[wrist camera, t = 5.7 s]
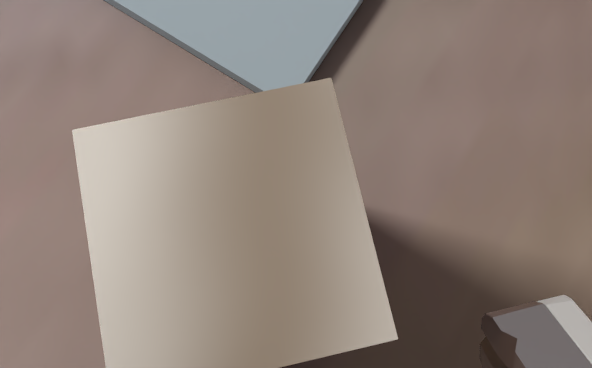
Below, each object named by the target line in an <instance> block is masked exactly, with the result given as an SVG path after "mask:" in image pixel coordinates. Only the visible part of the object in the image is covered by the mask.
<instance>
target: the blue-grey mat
mask: <svg viewBox="0 0 592 368" xmlns="http://www.w3.org/2000/svg"><path fill="white" fill-rule="evenodd" d="M104 1H106V2H107V3H109V4H111V5H112V6H114V7H116V8H117V9H119V10H121V11H122V12H124V13H126V14H127V15H129V16H130V17H132V18H134V19H135V20H137V21H139V22H140V23H142V24H144V25H145V26H147V27H149V28H150V29H152V30H154V31H155V32H157V33H158V34H160V35H162V36H163V37H165V38H167V39H168V40H170V41H172V42H173V43H175V44H177V45H178V46H180V47H181V48H183V49H185V50H186V51H188V52H190V53H191V54H193V55H195V56H196V57H198V58H200V59H201V60H203V61H205V62H206V63H208V64H209V65H211V66H213V67H214V68H216V69H218V70H219V71H221V72H223V73H224V74H226V75H228V76H229V77H231V78H233V79H234V80H236V81H237V82H239V83H241V84H242V85H244V86H246V87H247V88H249V89H251V90H252V91H254V92H256V93H257V92H262V91H267V90H272V89H277V88H282V87H287V86H292V85H297V84H302V83H307V82H309V80H310V79H311V77H312V76H313V74H314V73H315V71H316V70H317V68H318V67H319V66H320V64H321V63H322V61H323V60H324V58H325V57H326V55H327V54H328V52H329V51H330V49H331V48H332V46H333V45H334V43H335V42H336V40H337V39H338V37H339V36H340V34H341V33H342V31H343V30H344V28H345V27H346V25H347V24H348V23H349V21H350V20H351V18H352V17H353V15H354V14H355V12H356V11H357V9H358V8H359V6H360V5H361V3H362V2H363V0H104Z"/></svg>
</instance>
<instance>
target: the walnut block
mask: <svg viewBox="0 0 592 368" xmlns="http://www.w3.org/2000/svg"><path fill="white" fill-rule="evenodd" d="M72 133H73V140H74V147H75V154H76V161H77V168H78V175H79V182H80V189H81V196H82V203H83V210H84V217H85V224H86V231H87V238H88V245H89V252H90V260H91V267H92V274H93V281H94V288H95V295H96V302H97V309H98V316H99V323H100V330H101V337H102V344H103V351H104V358H105V365H106V368H280V367H284V366H289V365H293V364H297V363H301V362H305V361H309V360H314V359H318V358H322V357H326V356H330V355H334V354H339V353H343V352H347V351H351V350H355V349H360V348H364V347H368V346H372V345H376V344H380V343H385V342H389V341H393V340H397V339H398V336H397V333H396V329H395V325H394V321H393V317H392V313H391V309H390V305H389V301H388V297H387V293H386V290H385V286H384V282H383V278H382V274H381V270H380V266H379V262H378V258H377V254H376V250H375V247H374V243H373V239H372V235H371V231H370V227H369V223H368V219H367V215H366V211H365V208H364V204H363V200H362V196H361V192H360V188H359V184H358V180H357V176H356V172H355V168H354V165H353V161H352V157H351V153H350V149H349V145H348V141H347V137H346V133H345V129H344V125H343V122H342V118H341V114H340V110H339V106H338V102H337V98H336V94H335V90H334V86H333V82H332V79H331V78H327V79H322V80H317V81H312V82H307V83H302V84H297V85H292V86H287V87H282V88H277V89H272V90H267V91H262V92H257V93H252V94H247V95H243V96H238V97H233V98H228V99H223V100H218V101H213V102H208V103H203V104H198V105H193V106H188V107H183V108H178V109H173V110H168V111H163V112H158V113H153V114H148V115H144V116H139V117H134V118H129V119H124V120H119V121H114V122H109V123H104V124H99V125H94V126H89V127H84V128H79V129H74V130H72Z"/></svg>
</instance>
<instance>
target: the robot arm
mask: <svg viewBox="0 0 592 368" xmlns="http://www.w3.org/2000/svg"><path fill="white" fill-rule="evenodd" d="M481 329H482V330H483V332H484V334H485V335H486V338H485V339H484V340H483V341H482V342H481V344H480V361H481V365H482V368H592V322H591V320H590V319H589V318H588V317H587V316H586V315H585V314H584V312H583V311H582V310H581V309H580V308H579V307H578V306H577V304H576V303H575V302H574V301H573V300H572V299H571V298H570V297H568V296H566V295H561V296H556V297H552V298H548V299H544V300H540V301H537V302H536V301H533V302H529V303H525V304H521V305H517V306H513V307H509V308H505V309H501V310H497V311H493V312H489V313H485V314H484V316H483V317H482V323H481Z"/></svg>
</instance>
